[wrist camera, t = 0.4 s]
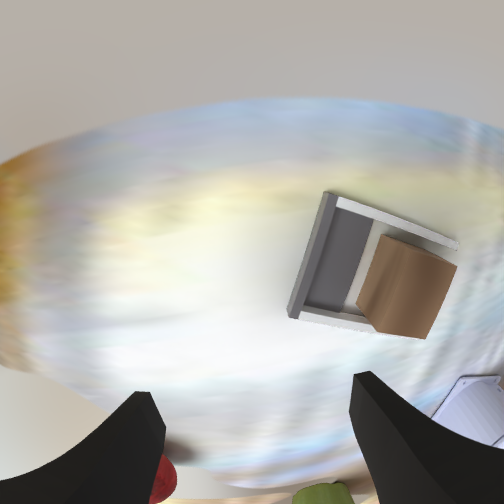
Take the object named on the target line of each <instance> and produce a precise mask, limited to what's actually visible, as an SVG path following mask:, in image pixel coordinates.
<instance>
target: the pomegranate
mask: <svg viewBox="0 0 504 504" xmlns="http://www.w3.org/2000/svg"><path fill="white" fill-rule="evenodd" d="M176 485H177V474H176V470H175V468H174V466H173V464H172V463H171V462H170V461H169V459H168V458H167V457H166V456H164V455H163V454H162V456H161V460H160V463H159V467H158V470H157V474H156V477H155V481H154V485H153V488H152V492H151V496H150V500H149V504H157V503H160V502H162V501H164V500H166V499H167V498H168V497H169V496H170V495H171V494H172V493H173V492H174V490H175V488H176Z"/></svg>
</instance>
